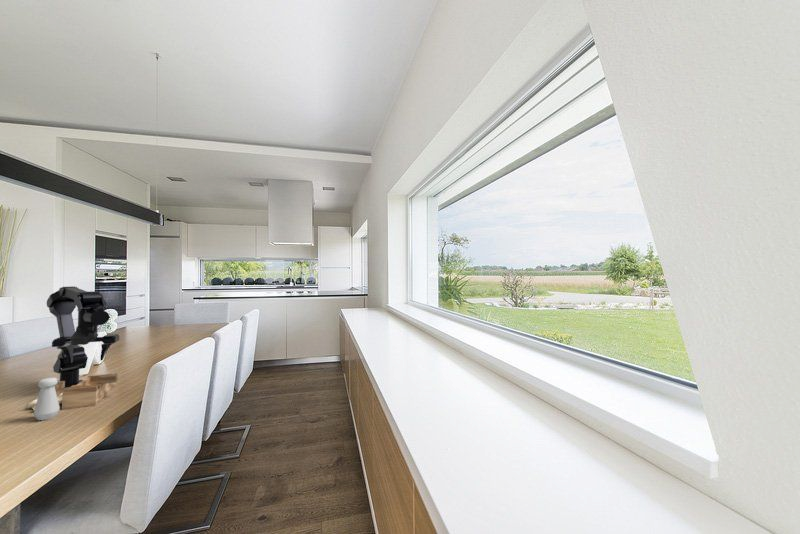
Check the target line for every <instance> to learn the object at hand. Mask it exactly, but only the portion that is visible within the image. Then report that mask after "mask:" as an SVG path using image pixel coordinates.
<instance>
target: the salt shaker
mask: <svg viewBox="0 0 800 534" xmlns="http://www.w3.org/2000/svg"><path fill="white" fill-rule="evenodd" d="M57 382H58V378H57V377H46V378H42V379H40V380H39V381H38V383H37V386H38V388H40V390H39V393H38V397H37V398H38V400H37V403H36V407H35V410H33V416H34V418H35V419H36V420H37V421H40V420H41V422H43V421H48V420H51V419H53V418H56V417H57V415H58V413H59V411H60V409H61V407H60V404H59V402H58V398H57V394H56V390H55V386H54V385H56V384H57ZM42 420H43V421H42Z"/></svg>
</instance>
